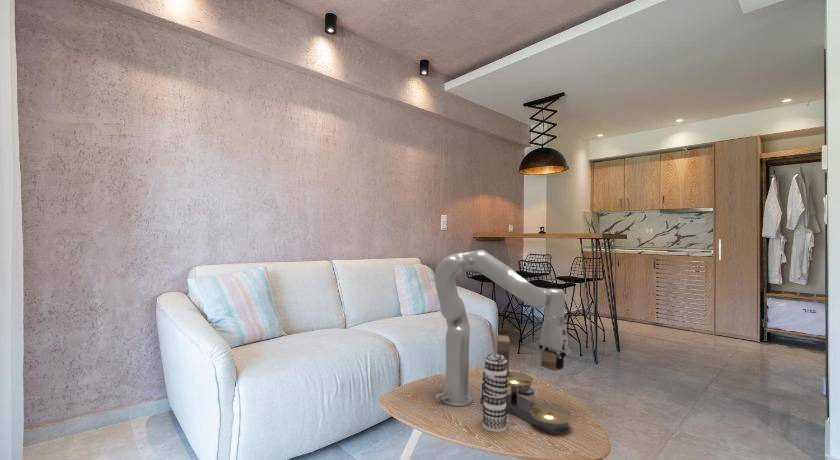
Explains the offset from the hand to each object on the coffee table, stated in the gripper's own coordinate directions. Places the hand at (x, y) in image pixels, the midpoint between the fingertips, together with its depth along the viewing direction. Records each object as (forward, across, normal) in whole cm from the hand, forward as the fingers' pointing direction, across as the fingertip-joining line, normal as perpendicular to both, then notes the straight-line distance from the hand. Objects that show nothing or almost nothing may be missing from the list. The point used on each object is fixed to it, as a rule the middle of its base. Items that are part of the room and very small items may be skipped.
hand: (552, 365), depth 152 cm
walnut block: (+1, 0, 0) cm, 1 cm away
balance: (+17, 0, +12) cm, 21 cm away
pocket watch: (+18, +16, -4) cm, 24 cm away
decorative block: (+18, +32, -6) cm, 37 cm away
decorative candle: (+18, +2, +30) cm, 35 cm away
